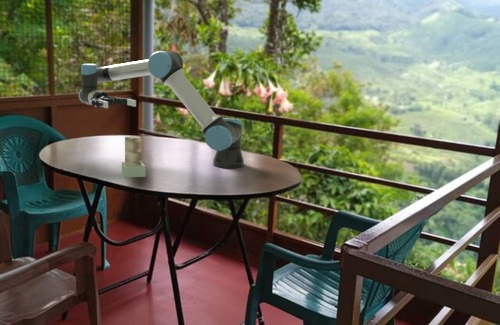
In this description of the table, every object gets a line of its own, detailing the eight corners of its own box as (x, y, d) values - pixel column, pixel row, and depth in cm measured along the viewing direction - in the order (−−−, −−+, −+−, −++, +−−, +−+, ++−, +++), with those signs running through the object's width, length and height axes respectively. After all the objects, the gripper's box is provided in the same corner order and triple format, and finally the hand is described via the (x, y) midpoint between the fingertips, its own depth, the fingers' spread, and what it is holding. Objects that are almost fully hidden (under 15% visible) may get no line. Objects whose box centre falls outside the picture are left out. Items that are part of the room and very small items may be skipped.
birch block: (134, 162, 228) (134, 135, 226) (141, 164, 225) (141, 137, 223) (124, 163, 225) (124, 136, 222) (131, 165, 222) (131, 138, 219)
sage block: (142, 172, 232) (142, 161, 231) (145, 177, 224) (145, 166, 223) (121, 173, 229) (121, 162, 228) (124, 178, 221) (124, 167, 220)
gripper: (123, 105, 251) (146, 111, 236) (74, 108, 234) (95, 114, 219) (123, 90, 249) (146, 94, 234) (73, 91, 232) (94, 96, 217)
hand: (121, 104), depth 226 cm, fingers open, 13 cm apart
